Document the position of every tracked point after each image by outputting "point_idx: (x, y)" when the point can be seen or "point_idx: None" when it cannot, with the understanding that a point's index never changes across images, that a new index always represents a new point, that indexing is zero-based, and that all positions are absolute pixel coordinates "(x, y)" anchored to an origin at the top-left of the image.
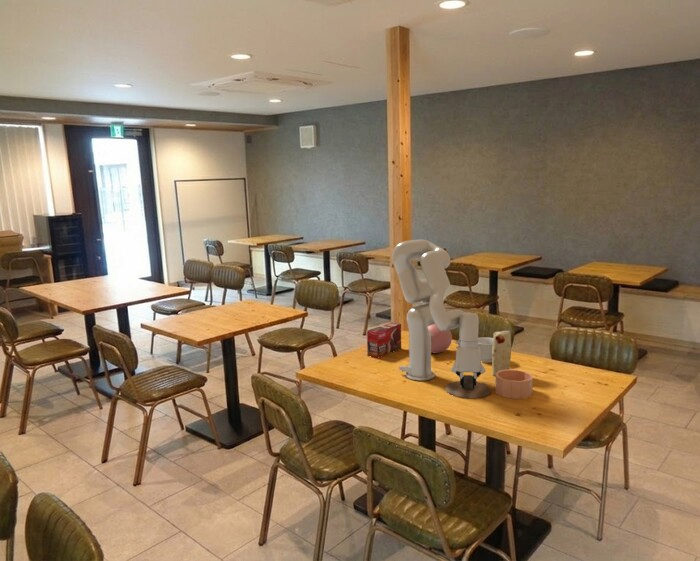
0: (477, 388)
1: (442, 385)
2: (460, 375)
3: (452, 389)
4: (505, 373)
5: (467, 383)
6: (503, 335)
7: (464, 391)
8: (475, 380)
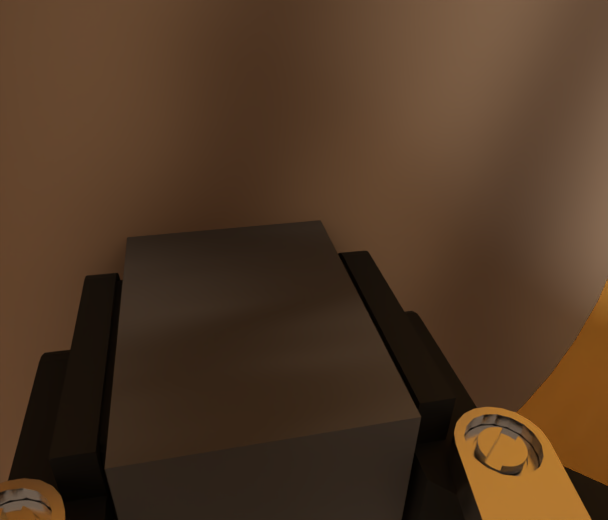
0: (35, 340)
1: (582, 374)
2: (554, 488)
3: (528, 204)
4: None
5: (268, 316)
6: None
7: (310, 138)
8: (36, 454)
